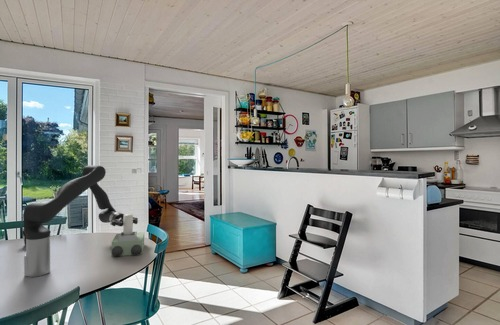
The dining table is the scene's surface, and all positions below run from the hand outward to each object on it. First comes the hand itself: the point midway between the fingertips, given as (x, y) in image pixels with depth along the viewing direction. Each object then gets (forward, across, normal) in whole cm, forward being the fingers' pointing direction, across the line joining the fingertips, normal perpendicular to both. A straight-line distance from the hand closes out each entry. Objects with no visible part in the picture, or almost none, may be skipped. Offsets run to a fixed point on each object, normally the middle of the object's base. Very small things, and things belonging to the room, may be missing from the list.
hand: (129, 223), depth 169 cm
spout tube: (-2, 0, +9) cm, 10 cm away
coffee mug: (-58, -36, +18) cm, 70 cm away
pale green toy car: (-6, +2, +17) cm, 18 cm away
